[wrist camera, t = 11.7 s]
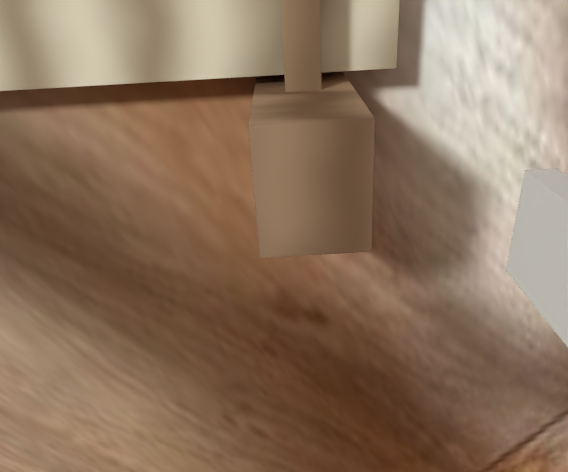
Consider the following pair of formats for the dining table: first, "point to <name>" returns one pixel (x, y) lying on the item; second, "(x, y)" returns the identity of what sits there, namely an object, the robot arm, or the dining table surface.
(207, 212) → the dining table surface
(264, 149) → the brown block with handle
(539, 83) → the dining table surface
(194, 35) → the board
